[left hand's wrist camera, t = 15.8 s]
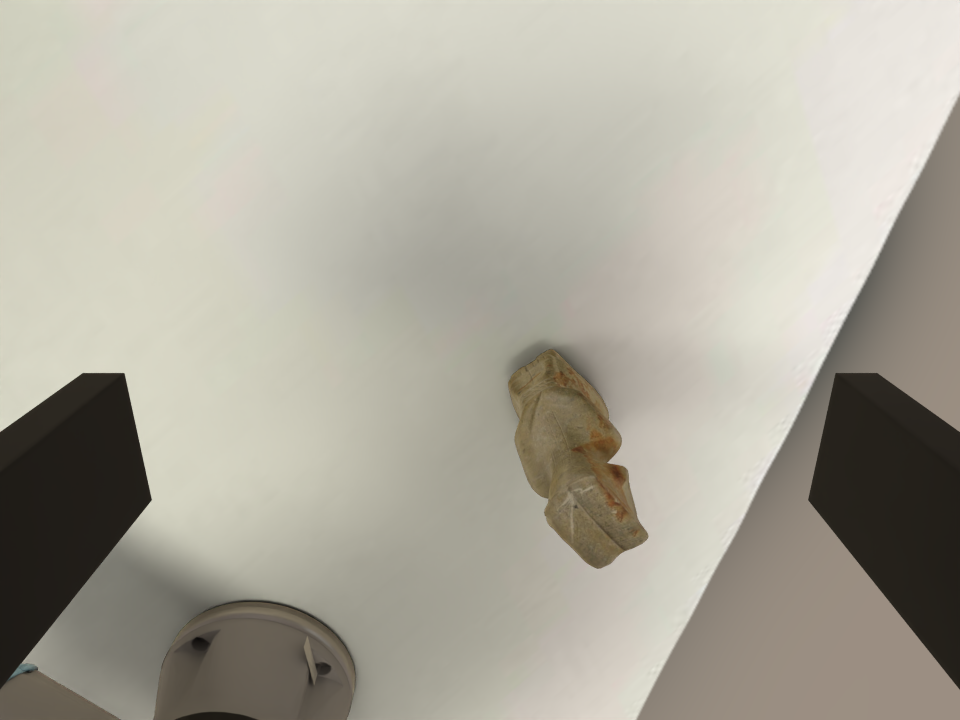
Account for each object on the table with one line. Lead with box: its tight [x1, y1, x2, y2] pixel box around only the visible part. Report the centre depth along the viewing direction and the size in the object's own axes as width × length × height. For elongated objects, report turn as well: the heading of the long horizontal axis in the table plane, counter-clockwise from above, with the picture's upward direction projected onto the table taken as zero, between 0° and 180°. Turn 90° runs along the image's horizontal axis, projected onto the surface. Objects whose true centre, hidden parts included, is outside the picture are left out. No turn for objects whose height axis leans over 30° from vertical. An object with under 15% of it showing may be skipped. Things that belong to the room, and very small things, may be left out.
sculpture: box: [508, 349, 648, 569], centre depth 39 cm, size 6×7×15 cm
